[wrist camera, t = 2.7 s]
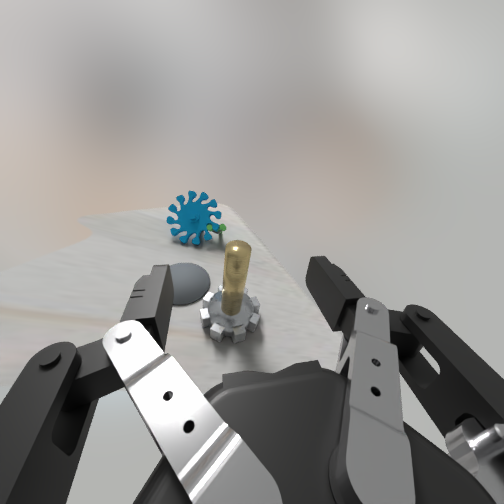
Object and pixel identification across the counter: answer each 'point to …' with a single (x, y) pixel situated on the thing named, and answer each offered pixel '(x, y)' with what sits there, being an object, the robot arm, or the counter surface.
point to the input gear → (231, 298)
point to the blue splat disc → (195, 218)
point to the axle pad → (188, 282)
